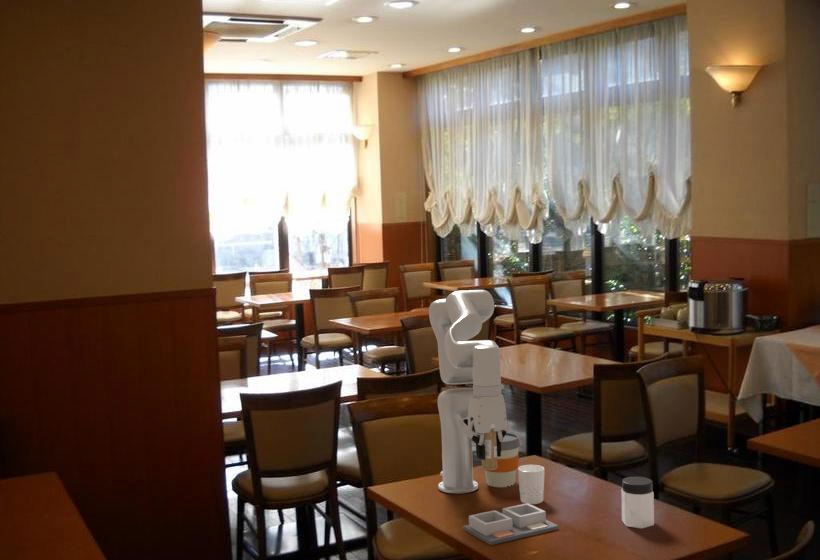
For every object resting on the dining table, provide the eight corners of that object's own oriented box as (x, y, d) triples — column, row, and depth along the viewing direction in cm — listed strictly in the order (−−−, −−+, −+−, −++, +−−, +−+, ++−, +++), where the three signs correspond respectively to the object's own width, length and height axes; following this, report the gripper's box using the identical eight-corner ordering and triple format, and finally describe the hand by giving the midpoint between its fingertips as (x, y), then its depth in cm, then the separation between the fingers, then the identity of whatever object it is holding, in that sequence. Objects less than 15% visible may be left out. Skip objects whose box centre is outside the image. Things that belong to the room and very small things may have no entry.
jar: (617, 525, 257) (616, 482, 256) (626, 516, 264) (625, 474, 263) (650, 530, 253) (649, 486, 252) (657, 520, 260) (657, 478, 259)
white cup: (544, 496, 285) (543, 464, 284) (545, 505, 277) (545, 471, 276) (518, 496, 285) (517, 464, 284) (518, 505, 277) (518, 472, 277)
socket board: (463, 529, 258) (462, 515, 258) (529, 514, 268) (528, 501, 268) (490, 545, 246) (490, 530, 246) (558, 529, 256) (558, 514, 256)
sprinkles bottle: (501, 468, 254) (499, 420, 253) (487, 471, 251) (486, 422, 250) (490, 465, 258) (489, 417, 257) (477, 468, 255) (476, 419, 254)
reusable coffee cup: (527, 480, 302) (525, 434, 300) (509, 491, 291) (508, 443, 290) (492, 475, 308) (491, 430, 307) (474, 485, 298) (472, 439, 296)
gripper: (505, 384, 260) (507, 449, 262) (453, 392, 252) (455, 458, 254) (520, 389, 253) (522, 455, 255) (467, 397, 246) (469, 465, 247)
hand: (488, 456), depth 254 cm, fingers closed on sprinkles bottle, 4 cm apart
